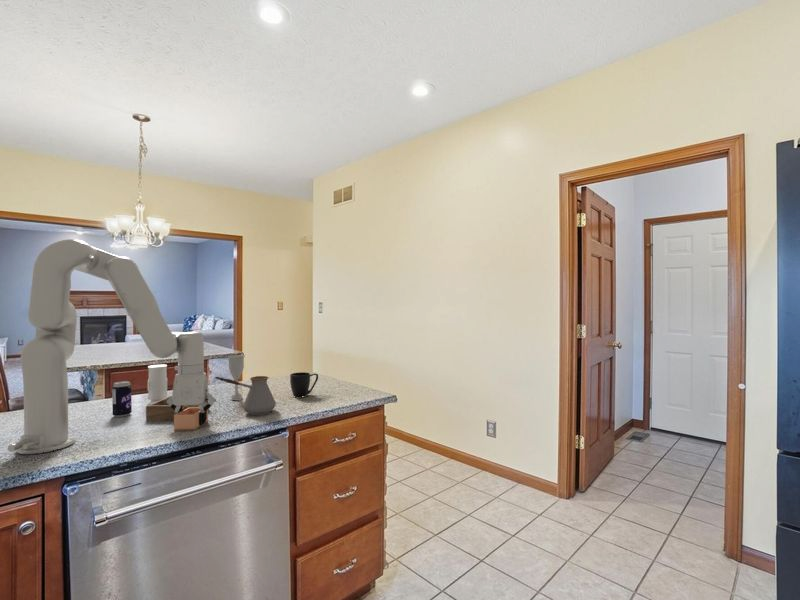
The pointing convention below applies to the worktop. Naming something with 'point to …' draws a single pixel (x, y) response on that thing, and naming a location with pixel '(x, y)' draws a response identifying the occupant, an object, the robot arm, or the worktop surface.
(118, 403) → the beverage can
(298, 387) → the mug
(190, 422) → the terracotta crate
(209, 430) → the worktop surface
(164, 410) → the walnut crate
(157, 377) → the candle
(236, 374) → the chalice
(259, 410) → the coffee pot
